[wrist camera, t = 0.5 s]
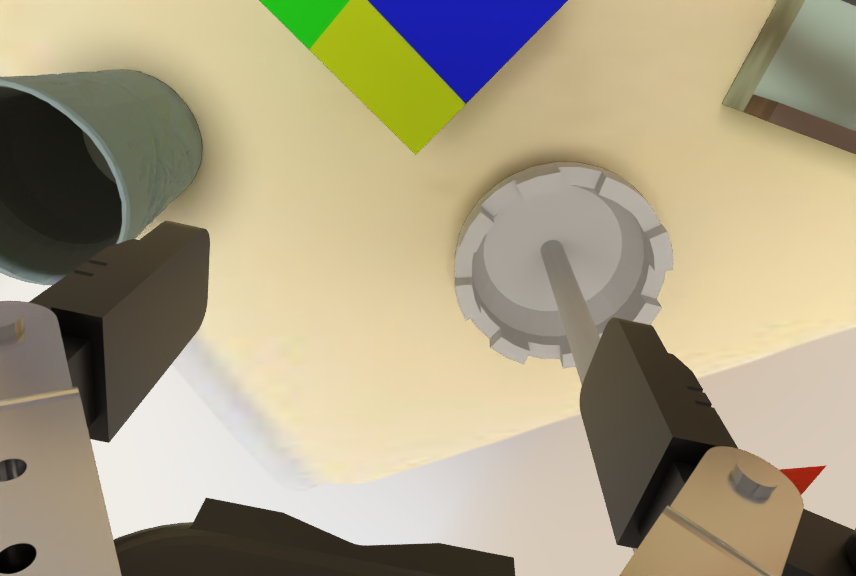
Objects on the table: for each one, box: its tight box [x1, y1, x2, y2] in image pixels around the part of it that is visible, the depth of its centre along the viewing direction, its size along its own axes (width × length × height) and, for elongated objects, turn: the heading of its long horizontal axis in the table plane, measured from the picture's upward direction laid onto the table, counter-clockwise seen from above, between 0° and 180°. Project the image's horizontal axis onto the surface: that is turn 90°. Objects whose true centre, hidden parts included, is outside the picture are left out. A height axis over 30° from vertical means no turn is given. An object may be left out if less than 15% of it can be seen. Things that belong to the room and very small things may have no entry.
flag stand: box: [455, 162, 825, 553], centre depth 27 cm, size 13×13×30 cm
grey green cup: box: [0, 70, 202, 285], centre depth 33 cm, size 10×10×12 cm
